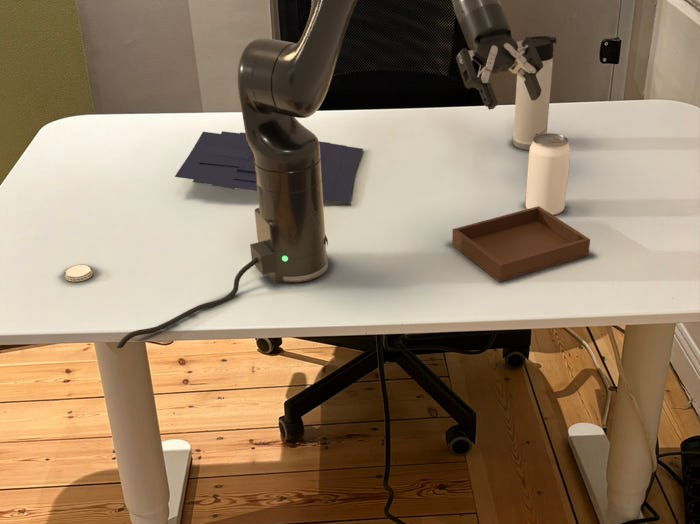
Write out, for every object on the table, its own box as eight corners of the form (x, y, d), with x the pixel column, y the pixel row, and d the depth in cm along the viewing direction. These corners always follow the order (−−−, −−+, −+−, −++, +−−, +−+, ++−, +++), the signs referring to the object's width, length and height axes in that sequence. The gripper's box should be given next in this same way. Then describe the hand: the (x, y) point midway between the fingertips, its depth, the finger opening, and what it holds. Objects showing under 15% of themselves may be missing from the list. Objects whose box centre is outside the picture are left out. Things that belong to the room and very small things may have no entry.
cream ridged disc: (82, 265, 140) (81, 261, 140) (98, 273, 138) (97, 269, 138) (59, 275, 138) (58, 272, 138) (75, 284, 136) (74, 280, 136)
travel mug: (546, 151, 175) (555, 43, 163) (511, 149, 176) (517, 41, 164) (548, 139, 180) (557, 33, 168) (514, 137, 181) (521, 31, 169)
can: (519, 203, 157) (523, 134, 150) (554, 197, 158) (560, 129, 151) (534, 219, 152) (540, 149, 145) (571, 213, 153) (578, 144, 146)
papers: (205, 141, 177) (205, 123, 175) (362, 161, 177) (363, 143, 175) (171, 196, 157) (171, 176, 155) (348, 218, 158) (350, 199, 155)
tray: (499, 282, 135) (500, 265, 134) (452, 245, 145) (452, 229, 143) (588, 255, 141) (590, 239, 140) (537, 221, 151) (538, 205, 149)
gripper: (452, 7, 149) (488, 99, 148) (525, -4, 155) (561, 84, 153) (435, 33, 156) (469, 121, 154) (506, 21, 162) (540, 105, 160)
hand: (515, 102), depth 154 cm, fingers open, 8 cm apart
